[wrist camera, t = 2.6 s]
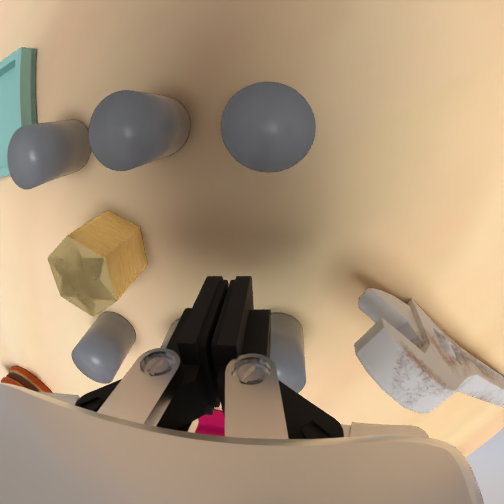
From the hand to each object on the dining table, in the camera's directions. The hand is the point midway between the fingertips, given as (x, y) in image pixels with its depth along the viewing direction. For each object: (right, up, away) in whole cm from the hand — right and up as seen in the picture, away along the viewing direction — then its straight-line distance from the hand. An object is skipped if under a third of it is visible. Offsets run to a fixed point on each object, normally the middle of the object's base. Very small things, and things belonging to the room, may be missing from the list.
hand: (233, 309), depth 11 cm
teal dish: (-17, +12, +2) cm, 21 cm away
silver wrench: (+18, -6, +7) cm, 20 cm away
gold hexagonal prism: (-7, +3, +5) cm, 9 cm away
